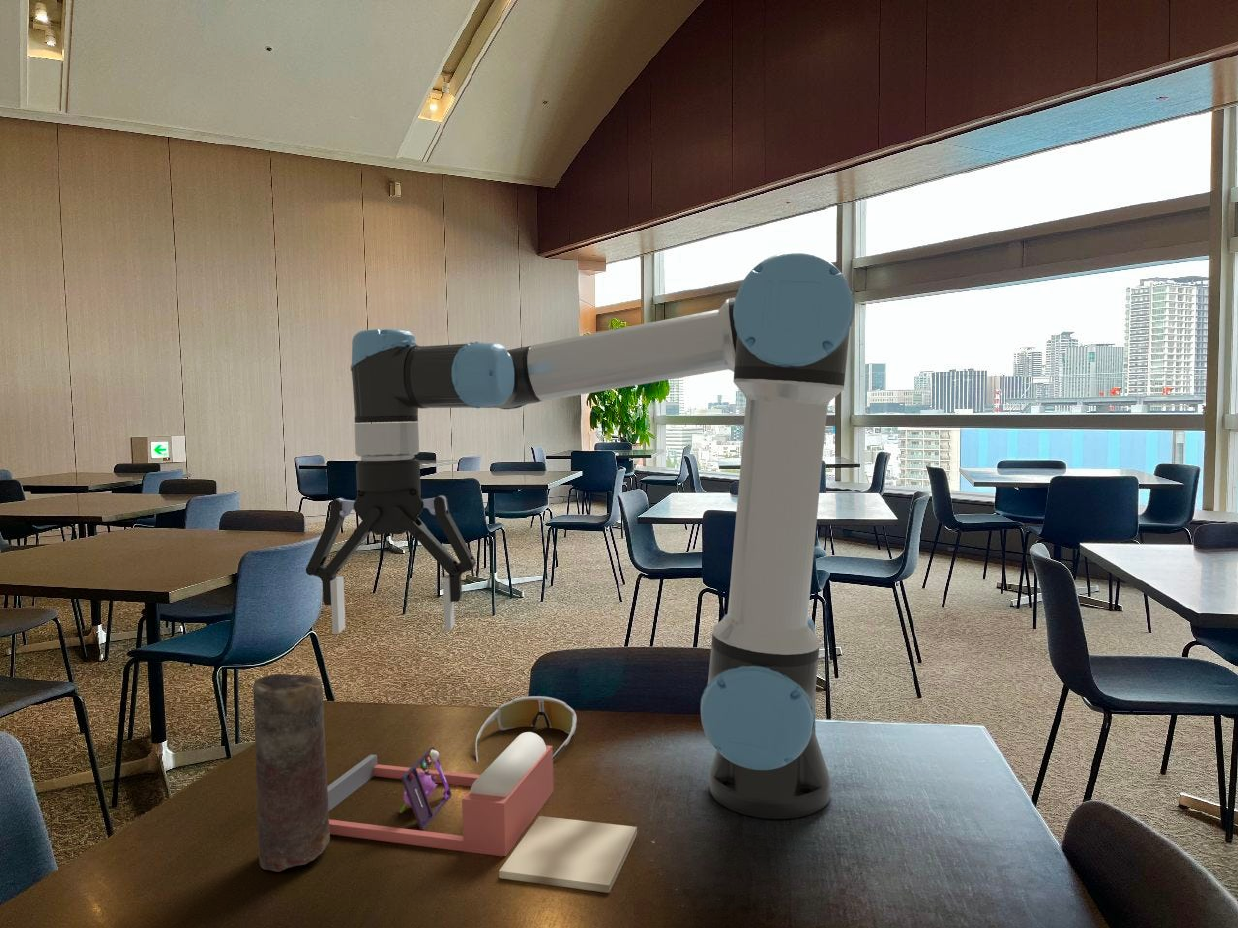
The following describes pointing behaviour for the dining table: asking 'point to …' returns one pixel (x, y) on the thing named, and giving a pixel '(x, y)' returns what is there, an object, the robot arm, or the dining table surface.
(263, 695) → the brown stone cylinder
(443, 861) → the dining table surface
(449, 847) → the frame
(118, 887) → the dining table surface
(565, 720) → the sunglasses
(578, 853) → the plate
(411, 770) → the purple toy
